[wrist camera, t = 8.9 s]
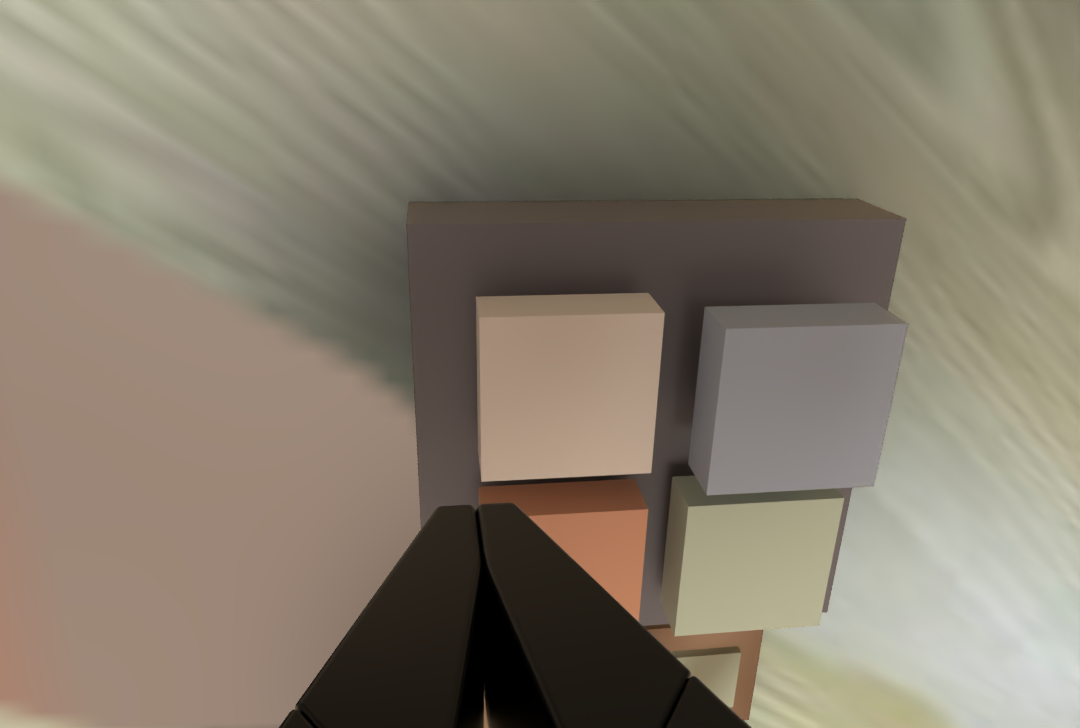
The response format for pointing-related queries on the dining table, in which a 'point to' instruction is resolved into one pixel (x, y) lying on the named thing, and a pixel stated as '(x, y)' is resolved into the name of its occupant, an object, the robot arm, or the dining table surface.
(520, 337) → the cream key
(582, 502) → the rust key
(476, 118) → the dining table surface
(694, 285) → the keypad board
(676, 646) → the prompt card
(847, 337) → the slate-blue key
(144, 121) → the dining table surface
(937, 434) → the dining table surface
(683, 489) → the sage key
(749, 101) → the dining table surface
